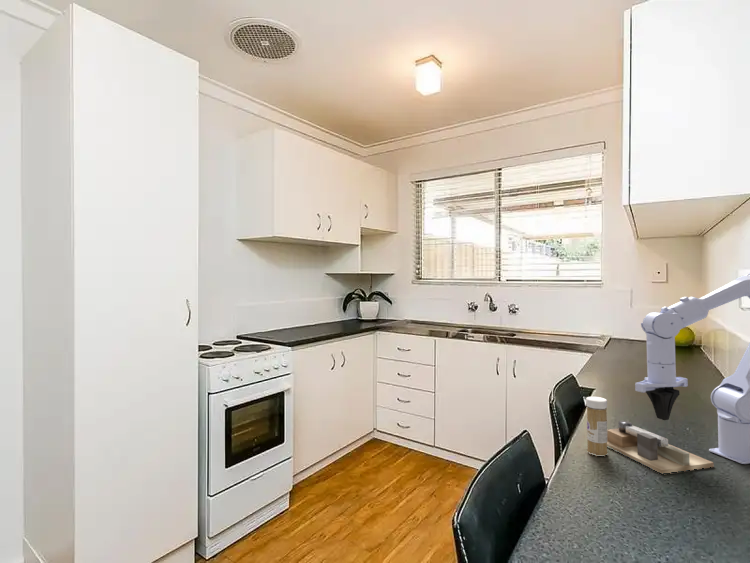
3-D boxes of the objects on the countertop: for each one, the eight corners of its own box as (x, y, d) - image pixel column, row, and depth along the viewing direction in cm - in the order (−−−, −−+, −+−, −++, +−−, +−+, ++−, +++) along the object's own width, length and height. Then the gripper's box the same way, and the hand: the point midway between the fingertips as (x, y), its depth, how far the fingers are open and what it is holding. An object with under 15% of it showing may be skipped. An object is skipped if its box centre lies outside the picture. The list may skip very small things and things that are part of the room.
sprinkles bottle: (583, 450, 105) (582, 396, 105) (600, 449, 106) (599, 395, 106) (594, 458, 101) (593, 401, 101) (612, 457, 101) (611, 400, 101)
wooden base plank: (645, 438, 112) (645, 415, 112) (713, 467, 95) (713, 440, 95) (600, 444, 109) (599, 420, 109) (661, 474, 91) (661, 446, 91)
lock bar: (615, 429, 108) (615, 421, 108) (625, 427, 109) (625, 420, 109) (659, 447, 96) (659, 438, 96) (670, 445, 97) (669, 437, 97)
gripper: (667, 357, 108) (668, 410, 108) (623, 362, 104) (625, 417, 104) (695, 361, 102) (697, 418, 102) (650, 367, 97) (651, 426, 97)
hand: (662, 418), depth 102 cm, fingers closed
